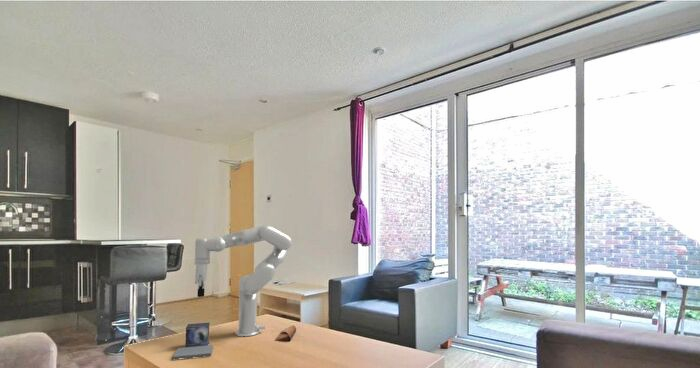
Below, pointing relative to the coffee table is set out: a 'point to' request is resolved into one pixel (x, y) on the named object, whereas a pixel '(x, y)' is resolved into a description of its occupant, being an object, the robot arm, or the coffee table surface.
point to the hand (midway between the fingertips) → (200, 296)
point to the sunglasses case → (286, 334)
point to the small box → (197, 334)
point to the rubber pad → (193, 352)
